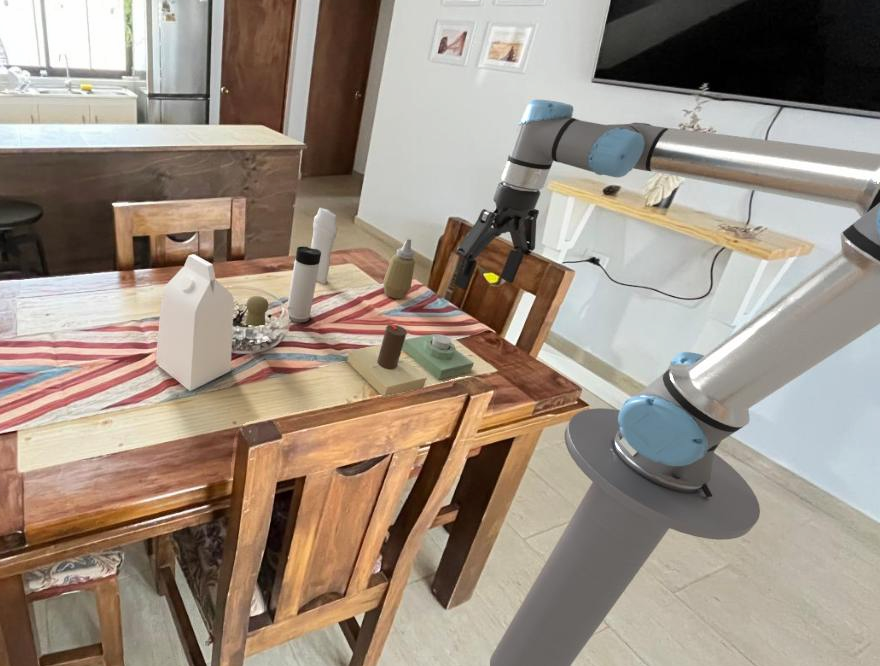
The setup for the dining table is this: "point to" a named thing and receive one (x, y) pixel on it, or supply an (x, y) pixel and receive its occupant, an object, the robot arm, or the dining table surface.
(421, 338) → the green slab
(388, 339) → the brown upright cylinder
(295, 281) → the travel mug
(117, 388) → the dining table surface
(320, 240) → the white rounded cylinder
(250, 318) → the cork
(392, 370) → the beige slab
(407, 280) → the squeeze bottle
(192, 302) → the milk
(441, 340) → the grey rounded lump
